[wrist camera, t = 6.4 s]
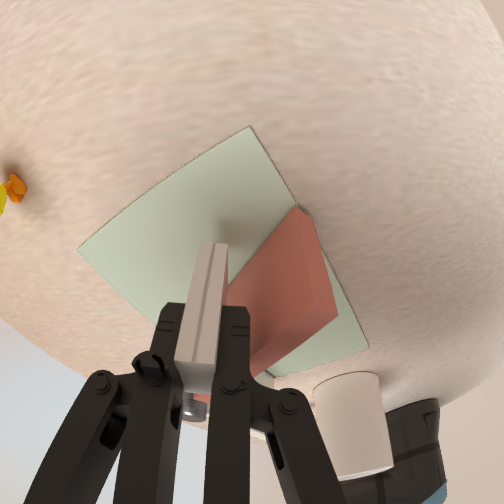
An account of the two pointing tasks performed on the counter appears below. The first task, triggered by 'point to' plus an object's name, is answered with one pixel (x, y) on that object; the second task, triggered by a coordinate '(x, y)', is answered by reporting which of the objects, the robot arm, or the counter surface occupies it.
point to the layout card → (210, 240)
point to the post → (193, 408)
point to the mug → (353, 425)
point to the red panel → (283, 293)
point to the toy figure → (12, 191)
